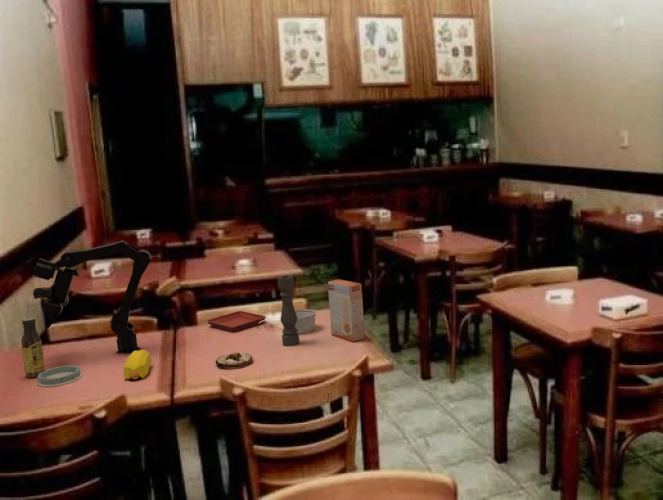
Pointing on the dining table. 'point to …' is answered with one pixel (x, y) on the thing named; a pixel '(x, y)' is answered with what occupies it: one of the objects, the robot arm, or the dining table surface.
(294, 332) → the candle holder
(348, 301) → the cracker box
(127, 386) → the dining table surface
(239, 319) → the plant saucer
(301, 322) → the ramekin
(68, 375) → the ring collar
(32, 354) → the sauce bottle
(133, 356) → the yellow faceted rock
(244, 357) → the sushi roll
